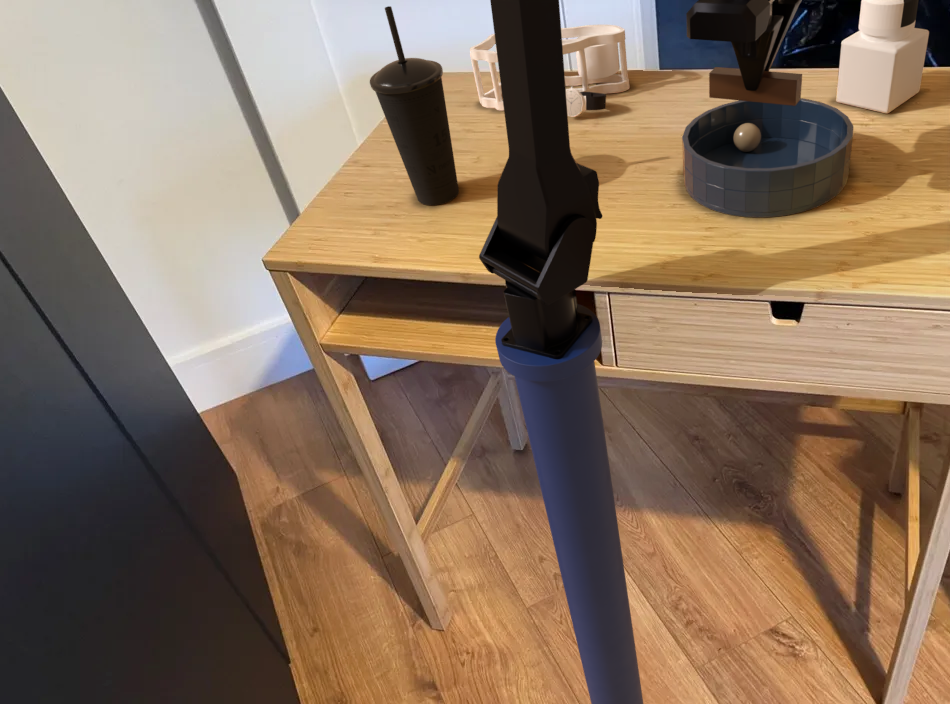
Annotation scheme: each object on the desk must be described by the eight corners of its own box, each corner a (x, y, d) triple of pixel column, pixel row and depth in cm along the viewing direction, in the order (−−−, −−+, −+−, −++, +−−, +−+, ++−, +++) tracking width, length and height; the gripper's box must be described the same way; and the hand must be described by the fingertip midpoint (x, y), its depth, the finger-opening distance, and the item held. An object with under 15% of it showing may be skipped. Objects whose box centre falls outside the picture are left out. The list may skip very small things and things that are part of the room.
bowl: (818, 229, 80) (822, 180, 76) (658, 203, 87) (655, 159, 83) (867, 149, 90) (873, 104, 86) (720, 133, 97) (720, 90, 93)
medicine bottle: (867, 81, 102) (879, -26, 94) (920, 92, 98) (938, -18, 89) (834, 102, 99) (844, -6, 90) (887, 115, 95) (903, 2, 86)
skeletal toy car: (635, 73, 113) (631, 15, 108) (621, 107, 105) (616, 47, 100) (498, 79, 117) (487, 24, 112) (475, 112, 110) (463, 55, 105)
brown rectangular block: (715, 91, 83) (715, 66, 81) (800, 99, 79) (802, 73, 77) (709, 97, 82) (709, 73, 80) (795, 106, 78) (796, 80, 76)
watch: (544, 117, 105) (540, 89, 103) (559, 102, 108) (555, 74, 106) (600, 120, 103) (596, 91, 100) (613, 104, 106) (610, 76, 103)
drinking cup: (393, 209, 93) (334, 21, 79) (426, 177, 98) (376, -6, 84) (451, 214, 90) (400, 21, 76) (482, 181, 95) (440, -7, 81)
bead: (728, 136, 89) (727, 132, 92) (743, 159, 90) (741, 155, 93) (752, 118, 88) (750, 115, 91) (767, 142, 89) (764, 138, 92)
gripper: (714, -128, 77) (714, 45, 88) (624, -73, 66) (638, 117, 77) (831, -132, 73) (816, 52, 84) (756, -72, 62) (750, 130, 73)
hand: (755, 86), depth 79 cm, fingers closed on brown rectangular block, 2 cm apart
